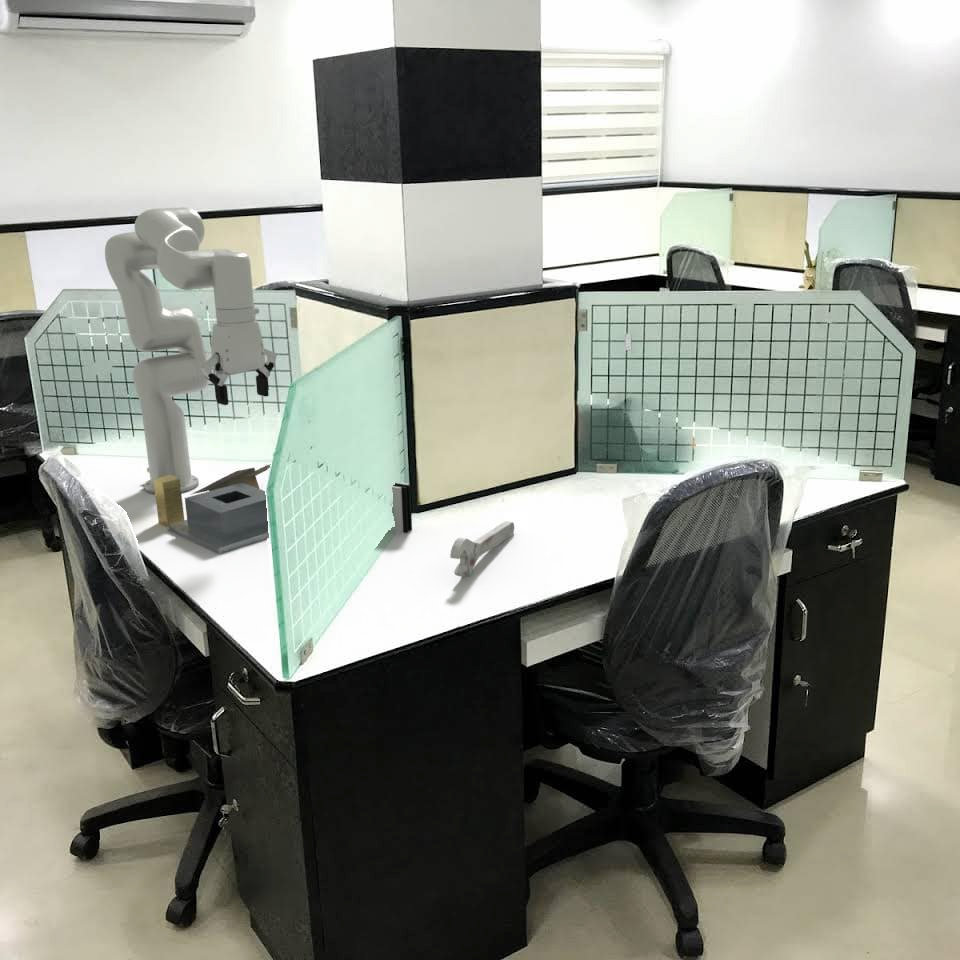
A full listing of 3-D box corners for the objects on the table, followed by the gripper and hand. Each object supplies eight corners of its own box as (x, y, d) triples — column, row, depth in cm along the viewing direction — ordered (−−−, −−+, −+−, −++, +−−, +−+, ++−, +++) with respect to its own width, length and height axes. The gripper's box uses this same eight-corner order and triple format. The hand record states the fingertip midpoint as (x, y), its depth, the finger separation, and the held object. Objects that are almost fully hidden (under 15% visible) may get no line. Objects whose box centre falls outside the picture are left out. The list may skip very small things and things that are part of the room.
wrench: (514, 546, 209) (458, 586, 181) (505, 545, 209) (449, 585, 182) (515, 509, 207) (459, 543, 180) (507, 508, 208) (449, 542, 180)
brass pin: (158, 522, 218) (153, 479, 215) (175, 518, 221) (170, 474, 217) (168, 527, 215) (162, 483, 212) (184, 522, 218) (179, 478, 215)
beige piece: (206, 525, 227) (246, 489, 220) (187, 494, 229) (226, 457, 222) (254, 514, 242) (292, 480, 235) (236, 484, 243) (273, 449, 236)
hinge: (346, 529, 212) (343, 484, 209) (356, 520, 217) (353, 476, 214) (408, 534, 208) (406, 488, 205) (416, 525, 213) (414, 480, 210)
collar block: (168, 530, 213) (164, 498, 211) (248, 506, 227) (245, 476, 224) (219, 553, 200) (215, 520, 198) (300, 527, 213) (298, 495, 211)
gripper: (260, 309, 208) (267, 389, 213) (187, 319, 196) (196, 404, 201) (282, 312, 203) (288, 394, 208) (208, 323, 191) (216, 410, 196)
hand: (243, 399), depth 204 cm, fingers open, 9 cm apart
